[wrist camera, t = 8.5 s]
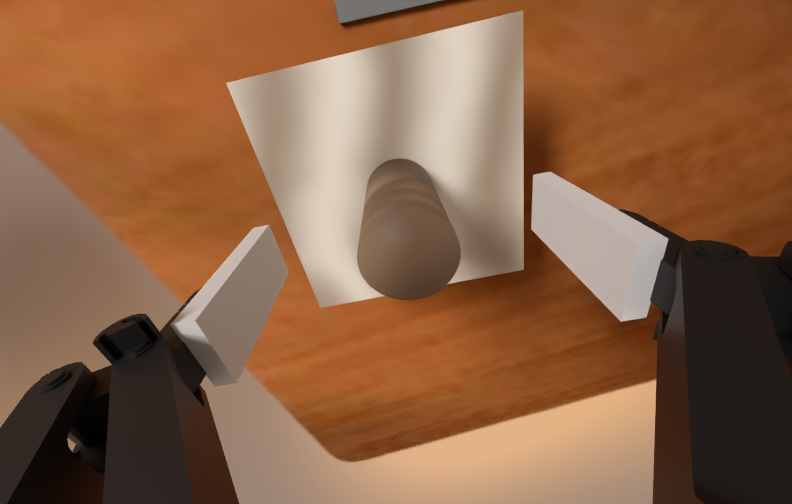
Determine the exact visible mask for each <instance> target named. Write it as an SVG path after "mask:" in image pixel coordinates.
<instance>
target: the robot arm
mask: <svg viewBox="0 0 792 504" xmlns="http://www.w3.org/2000/svg"><path fill="white" fill-rule="evenodd" d="M531 230H532V231H533V232H534V233H535V234H536V235H537V236H538V237H539V238H540V239H541V240H542V241H543V242H544V243H545V244H546V245H547V246H548V247H549V248H550V249H551V250H552V251H553V252H554V253H555V254H556V255H557V256H558V257H559V258H560V259H561V260H562V262H563V263H564V264H565V265H566V266H567V267H568V268H569V269H570V270H571V271H572V272H573V273H574V274H575V275H576V276H577V277H578V278H579V279H580V280H581V281H582V282H583V283H584V284H585V285H586V286H587V287H588V288H589V289H590V290H591V291H592V292H593V293H594V294H595V296H596V297H597V298H598V299H599V300H600V301H601V302H602V303H603V304H604V305H605V306H606V307H607V308H608V309H609V310H610V311H611V312H612V313H613V314H614V315H615V316H616V317H617V318H618V319H619V320H620V321H621V322H622V321H628V320H634V319H640V318H647V314H648V310H649V307H650V303H651V302H652V303H654V304H655V305H656V306H657V307H658V308H660V309H661V313H660V317H659V320H658V323H657V327H656V330H655V333H654V336H653V339H655V340H658V350H657V382H656V416H655V447H654V448H655V449H654V482H653V504H792V241H789V242H787V244H786V245H785V247H784V249H783V251H782V253H781V255H780V257H750V256H749V255H748V254H747V252H746V251H744V250H742V249H740V248H738V247H736V246H733V245H730V244H727V243H722V242H716V241H706V240H697V241H690V242H689V241H687V240H685V239H684V238H682V237H680V236H678V235H676V234H674V233H672V232H671V231H669V230H667V229H665V228H663V227H659V225H658V224H656V223H654V222H652V221H650V222H649V220H648V219H646V218H645V217H643V216H641V215H639V214H637V213H633V212H630V211H626V210H622V209H620V210H617V209H615V208H614V207H612V206H610V205H608V204H607V203H605V202H603V201H601V200H600V199H598V198H596V197H594V196H593V195H591V194H589V193H587V192H585V191H584V190H582V189H580V188H578V187H577V186H575V185H573V184H571V183H570V182H568V181H566V180H564V179H563V178H561V177H559V176H557V175H556V174H554V173H552V172H545V173H540V174H535V175H533V193H532V223H531ZM288 274H289V271H288V268H287V266H286V264H285V261H284V259H283V257H282V254H281V252H280V250H279V247H278V245H277V243H276V240H275V238H274V236H273V233H272V231H271V229H270V226H269V225H265V226H260V227H255V228H253V229H252V230H251V231H250V232H249V234H248V235H247V236H246V237H245V238H244V239H243V241H242V242H241V243H240V244H239V245H238V246H237V248H236V249H235V250H234V251H233V252H232V253H231V255H230V256H229V257H228V258H227V259H226V260H225V262H224V263H223V264H222V265H221V266H220V267H219V268H218V270H217V271H216V272H215V273H214V274H213V275H212V277H211V278H210V279H209V280H208V281H207V282H206V284H205V285H204V286H203V287H202V288H200V289H199V290H198V291H196V292H195V293H193V294H192V295H191V297H190V298H189V299H188V300H187V301H186V302H185V305H183V306H182V307H181V308H180V309H179V311H178V312H177V313H176V314H175V315H174V316H173V317H172V318H171V320H170V321H169V322H168V323H167V324H166V325H165V326H164V328H163V329H162V330H161V331H160V332H159V330H158V329H157V328H156V326H155V325H154V324H153V323H152V322H151V320H150V319H149V317H148V316H147V315H146V314H136V315H132V316H129V317H126V318H124V319H121V320H119V321H118V322H116V323H114V324H112V325H110V326H109V327H108V328H106V329H105V330H103V331H102V332H101V333H100V334H99V335H98V336H97V337H96V338H95V340H94V341H93V344H94V345H95V346H96V347H97V348H98V350H99V351H100V352H101V353H102V354H103V355H104V356H105V357H106V358H107V359H108V360H109V361H110V363H111V364H112V365H111V366H108V367H105V368H103V369H100V370H97V371H95V372H91V371H90V370H89V369H88V368H87V367H86V366H85V365H84V364H83V363H82V362H76V363H72V364H68V365H65V366H63V367H61V368H59V369H55V370H53V371H51V372H50V374H46V375H45V376H43V377H42V378H41V380H39V381H38V382H37V383H35V384H34V385H33V386H32V387H31V388H30V389H29V390H28V391H27V392H26V394H25V395H24V396H23V398H22V399H21V400H20V402H19V403H18V405H17V406H16V407H15V409H14V410H13V411H12V413H11V414H10V415H9V417H8V418H7V420H6V421H5V422H4V424H3V425H2V426H1V428H0V504H239V502H238V498H237V495H236V492H235V488H234V485H233V482H232V479H231V475H230V472H229V469H228V465H227V462H226V459H225V456H224V452H223V449H222V446H221V442H220V439H219V436H218V432H217V430H216V426H215V422H214V419H213V416H212V413H211V409H210V406H209V402H208V399H207V396H206V393H205V391H204V390H203V388H202V387H201V386H200V384H201V382H202V380H203V378H204V377H205V375H207V376H208V378H209V379H210V381H211V382H212V383H213V385H214V386H220V385H226V384H232V383H236V382H237V381H238V379H239V377H240V374H241V373H242V371H243V368H244V366H245V364H246V362H247V360H248V358H249V356H250V354H251V352H252V350H253V348H254V345H255V343H256V341H257V339H258V337H259V335H260V333H261V331H262V329H263V327H264V325H265V322H266V320H267V318H268V316H269V314H270V312H271V310H272V308H273V306H274V304H275V302H276V300H277V297H278V295H279V293H280V291H281V289H282V287H283V285H284V283H285V281H286V279H287V277H288ZM67 438H69V439H70V440H71V441H73V442H74V443H75V444H76V446H75V448H74V450H73V452H72V451H71V450H70V448H69V447H68V441H67Z"/></svg>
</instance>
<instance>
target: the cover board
mask: <svg viewBox="0 0 792 504" xmlns="http://www.w3.org/2000/svg"><path fill="white" fill-rule="evenodd" d="M226 84H227V86H228V89H229V91H230V93H231V96H232V98H233V101H234V103H235V105H236V108H237V110H238V112H239V115H240V117H241V120H242V122H243V124H244V127H245V129H246V132H247V134H248V136H249V139H250V141H251V143H252V146H253V148H254V151H255V153H256V155H257V158H258V160H259V163H260V165H261V167H262V170H263V172H264V174H265V177H266V179H267V182H268V184H269V186H270V189H271V191H272V193H273V196H274V198H275V201H276V203H277V205H278V208H279V210H280V213H281V215H282V217H283V220H284V222H285V224H286V227H287V229H288V232H289V234H290V236H291V239H292V241H293V243H294V246H295V248H296V251H297V253H298V255H299V258H300V260H301V263H302V265H303V267H304V270H305V272H306V274H307V277H308V279H309V282H310V284H311V286H312V289H313V291H314V294H315V296H316V298H317V301H318V303H319V305H320V308H323V307H328V306H333V305H339V304H344V303H349V302H355V301H360V300H365V299H371V298H376V297H381V296H387V297H390V298H394V299H400V300H414V299H420V298H424V297H427V296H429V295H432V294H434V293H436V292H437V291H439V290H441V289H442V288H443V287H444V286H446V285H447V284H450V283H456V282H461V281H466V280H472V279H477V278H482V277H488V276H493V275H498V274H503V273H509V272H514V271H519V270H524V145H523V10H522V11H518V12H514V13H510V14H506V15H502V16H498V17H494V18H490V19H486V20H482V21H477V22H473V23H469V24H465V25H461V26H457V27H453V28H449V29H445V30H441V31H437V32H433V33H428V34H424V35H420V36H416V37H412V38H408V39H404V40H400V41H396V42H392V43H388V44H384V45H379V46H375V47H371V48H367V49H363V50H359V51H355V52H351V53H347V54H343V55H339V56H335V57H330V58H326V59H322V60H318V61H314V62H310V63H306V64H302V65H298V66H294V67H290V68H286V69H281V70H277V71H273V72H269V73H265V74H261V75H257V76H253V77H249V78H245V79H241V80H237V81H233V82H228V83H226Z"/></svg>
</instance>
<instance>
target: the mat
mask: <svg viewBox="0 0 792 504" xmlns="http://www.w3.org/2000/svg"><path fill="white" fill-rule="evenodd" d="M334 1H335V5H336V9H337V14H338V18H339V23H340V24H343V23H347V22H352V21H356V20H361V19H365V18H370V17H374V16H378V15H383V14H387V13H392V12H396V11H401V10H405V9H409V8H414V7H418V6H423V5H427V4H432V3H436V2H440V1H445V0H334Z"/></svg>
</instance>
